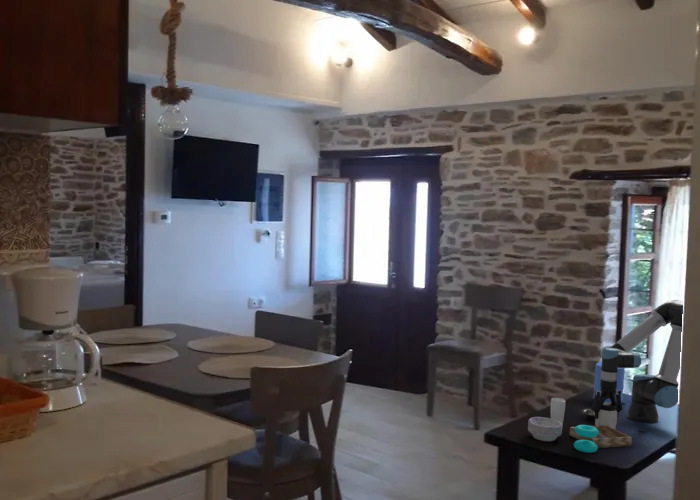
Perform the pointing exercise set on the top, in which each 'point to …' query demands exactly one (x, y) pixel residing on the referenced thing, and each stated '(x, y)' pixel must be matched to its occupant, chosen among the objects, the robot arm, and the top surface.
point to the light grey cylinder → (557, 409)
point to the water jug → (619, 380)
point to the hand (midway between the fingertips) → (605, 424)
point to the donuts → (586, 444)
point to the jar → (608, 414)
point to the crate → (605, 437)
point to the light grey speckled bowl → (544, 428)
